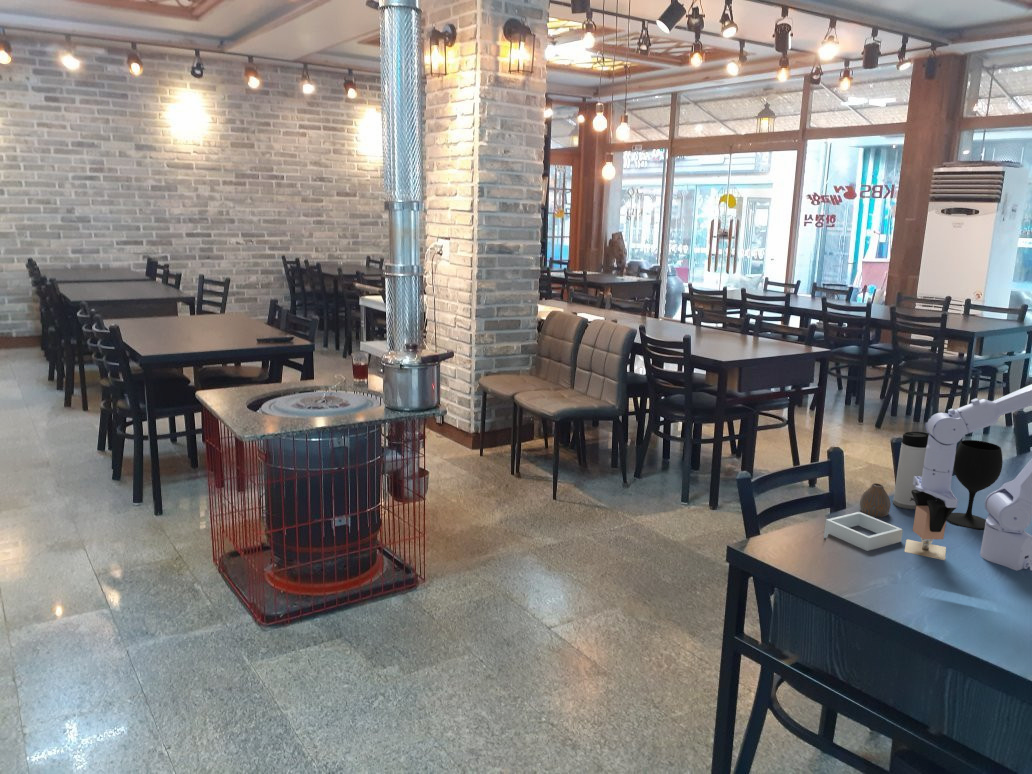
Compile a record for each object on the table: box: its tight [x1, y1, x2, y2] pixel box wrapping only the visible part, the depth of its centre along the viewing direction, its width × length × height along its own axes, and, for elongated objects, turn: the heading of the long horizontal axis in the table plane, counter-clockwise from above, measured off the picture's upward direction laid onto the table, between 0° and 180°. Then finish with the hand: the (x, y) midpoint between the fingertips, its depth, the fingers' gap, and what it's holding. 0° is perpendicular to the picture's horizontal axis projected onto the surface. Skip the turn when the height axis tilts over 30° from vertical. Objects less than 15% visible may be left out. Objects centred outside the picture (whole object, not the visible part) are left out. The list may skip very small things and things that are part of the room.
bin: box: [823, 511, 903, 552], centre depth 183 cm, size 12×12×4 cm
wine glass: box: [946, 439, 1004, 531], centre depth 196 cm, size 10×10×20 cm
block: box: [912, 506, 947, 540], centre depth 176 cm, size 4×4×6 cm
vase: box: [859, 482, 891, 518], centre depth 198 cm, size 7×7×9 cm
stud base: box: [904, 537, 947, 561], centre depth 177 cm, size 8×8×5 cm
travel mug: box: [892, 431, 929, 510], centre depth 206 cm, size 6×7×20 cm
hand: (929, 526), depth 176 cm, fingers closed on block, 4 cm apart
